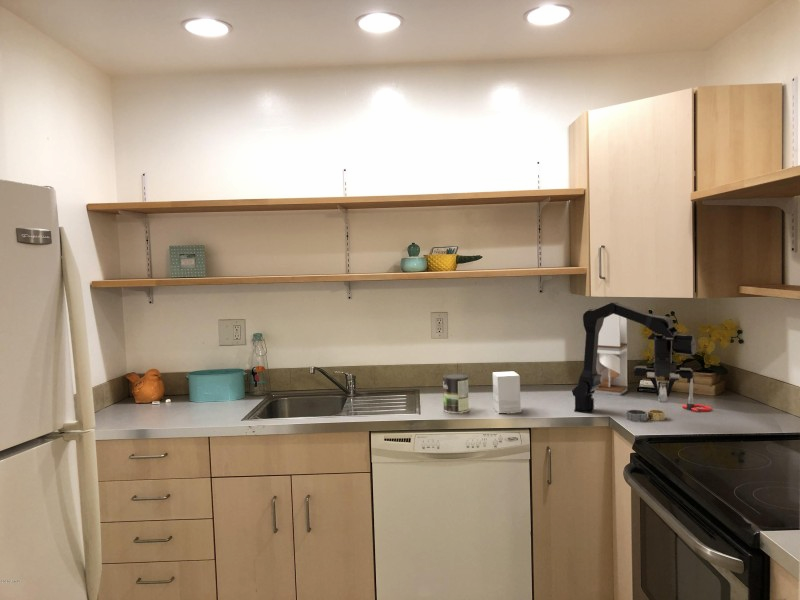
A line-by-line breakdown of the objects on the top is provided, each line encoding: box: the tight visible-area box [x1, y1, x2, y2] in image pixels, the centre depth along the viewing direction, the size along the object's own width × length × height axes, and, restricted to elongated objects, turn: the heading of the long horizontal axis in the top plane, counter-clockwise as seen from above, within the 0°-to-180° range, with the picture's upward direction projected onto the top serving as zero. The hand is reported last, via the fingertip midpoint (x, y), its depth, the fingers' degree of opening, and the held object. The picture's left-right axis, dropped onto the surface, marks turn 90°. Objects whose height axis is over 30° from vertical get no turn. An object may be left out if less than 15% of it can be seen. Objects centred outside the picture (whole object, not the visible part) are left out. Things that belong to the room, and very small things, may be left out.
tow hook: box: [682, 378, 712, 413], centre depth 221 cm, size 8×13×9 cm
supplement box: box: [492, 370, 522, 414], centre depth 228 cm, size 9×9×15 cm
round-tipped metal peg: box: [657, 380, 669, 404], centre depth 204 cm, size 3×3×7 cm
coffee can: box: [442, 372, 470, 414], centre depth 231 cm, size 10×10×14 cm
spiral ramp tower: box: [595, 314, 628, 396], centre depth 253 cm, size 11×11×35 cm
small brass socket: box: [647, 409, 666, 421], centre depth 210 cm, size 6×6×2 cm
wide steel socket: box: [625, 409, 648, 422], centre depth 211 cm, size 7×7×2 cm
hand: (662, 396), depth 204 cm, fingers closed on round-tipped metal peg, 3 cm apart
